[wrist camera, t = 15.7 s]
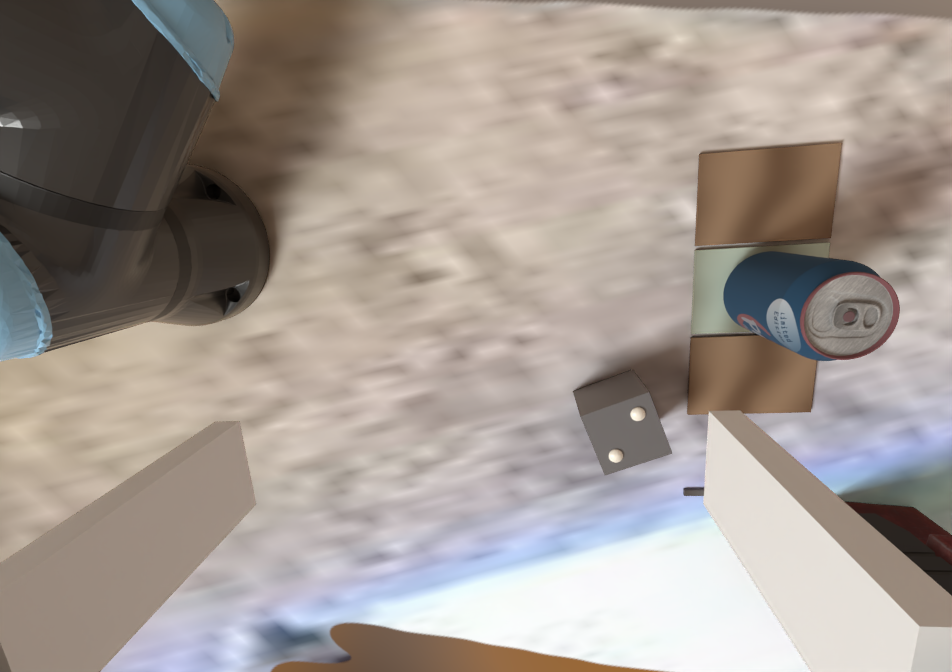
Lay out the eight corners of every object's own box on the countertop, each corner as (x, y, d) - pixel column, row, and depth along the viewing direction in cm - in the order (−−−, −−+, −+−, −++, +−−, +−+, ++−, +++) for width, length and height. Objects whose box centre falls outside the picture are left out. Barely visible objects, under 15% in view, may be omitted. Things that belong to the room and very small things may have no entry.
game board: (683, 493, 47) (684, 495, 46) (699, 154, 39) (700, 154, 39) (799, 493, 46) (801, 495, 45) (839, 143, 38) (841, 142, 38)
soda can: (711, 325, 42) (782, 365, 31) (724, 248, 40) (805, 259, 29) (790, 330, 42) (894, 372, 30) (807, 252, 40) (924, 265, 28)
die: (594, 443, 46) (605, 476, 40) (573, 391, 45) (580, 417, 39) (653, 423, 45) (673, 454, 39) (632, 369, 44) (649, 392, 38)
